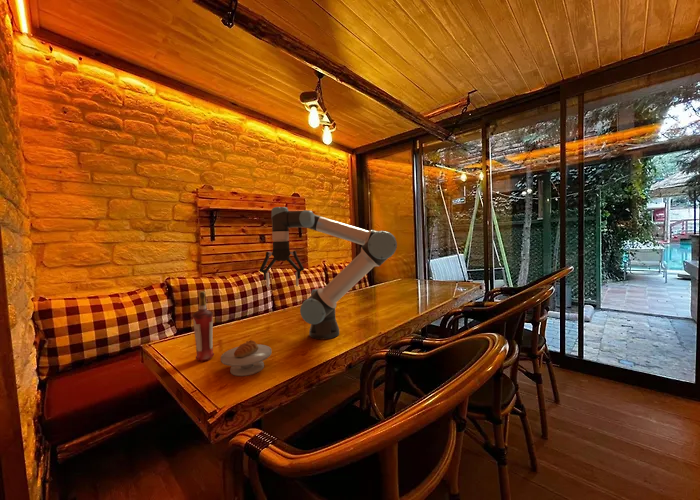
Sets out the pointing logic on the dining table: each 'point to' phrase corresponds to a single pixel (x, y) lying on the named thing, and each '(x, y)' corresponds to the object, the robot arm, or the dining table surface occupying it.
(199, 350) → the ketchup bottle
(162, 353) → the dining table surface
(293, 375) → the dining table surface
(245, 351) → the pastry
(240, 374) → the cake stand
